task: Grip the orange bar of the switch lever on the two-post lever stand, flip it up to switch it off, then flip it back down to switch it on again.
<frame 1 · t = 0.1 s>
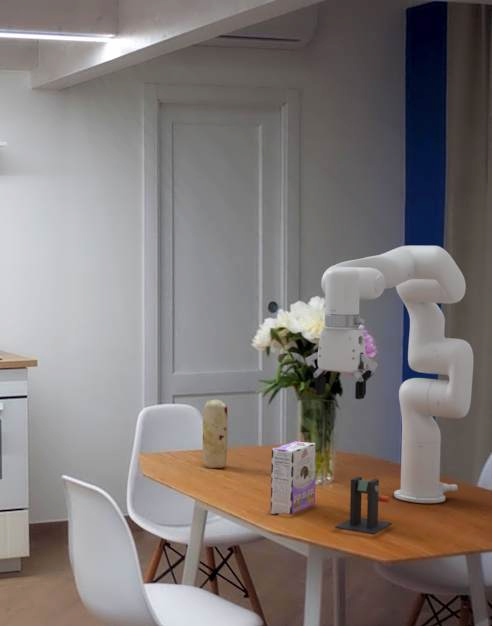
hand: (340, 396, 245), 31 cm above the table, tool pointing down, fingers open, 9 cm apart
candy box: (292, 511, 265), on the table
two-post lever stand: (363, 529, 247), on the table
food model: (214, 467, 319), on the table
switch lever: (371, 492, 250), point 8 cm above the table, hinge at -25.0°
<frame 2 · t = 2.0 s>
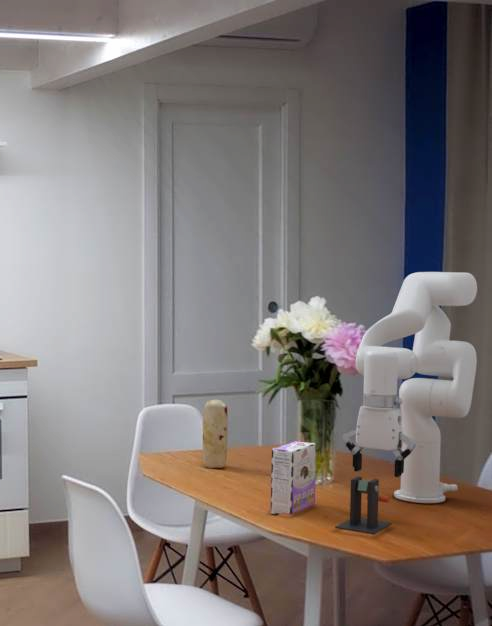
hand: (377, 473, 253), 12 cm above the table, tool pointing down, fingers open, 9 cm apart
nothing on the table moved.
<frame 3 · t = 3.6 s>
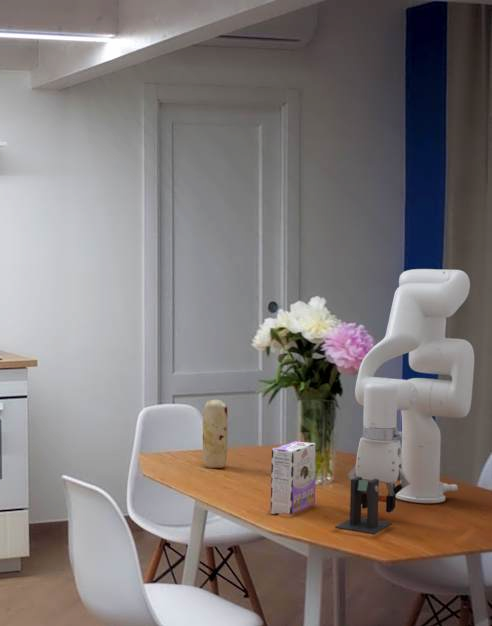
hand: (377, 508, 254), 3 cm above the table, tool pointing down, fingers closed on switch lever, 5 cm apart
switch lever: (371, 492, 250), point 8 cm above the table, hinge at -25.0°, touching gripper
everything else where it was.
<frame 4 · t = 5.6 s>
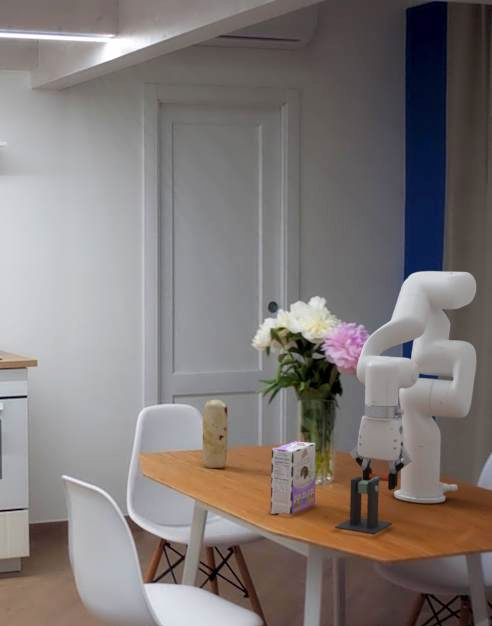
hand: (379, 486, 254), 8 cm above the table, tool pointing down, fingers closed on switch lever, 5 cm apart
switch lever: (371, 482, 250), point 10 cm above the table, hinge at 3.7°, touching gripper
everything else where it was.
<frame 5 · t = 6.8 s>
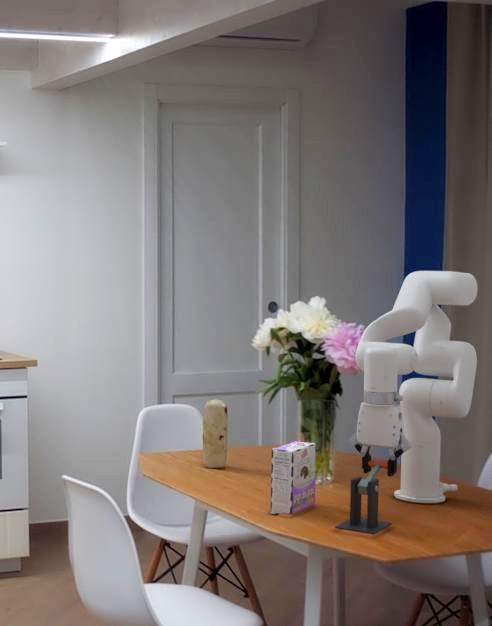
hand: (379, 473, 254), 12 cm above the table, tool pointing down, fingers closed on switch lever, 5 cm apart
switch lever: (371, 476, 250), point 12 cm above the table, hinge at 22.3°, touching gripper
everything else where it was.
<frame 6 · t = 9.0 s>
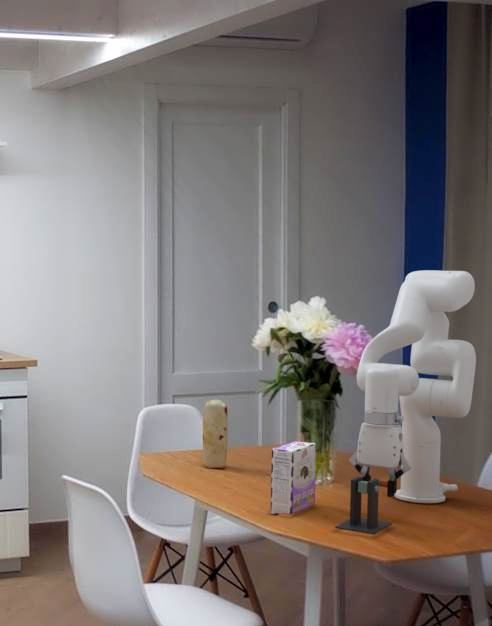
hand: (378, 493, 254), 7 cm above the table, tool pointing down, fingers closed on switch lever, 5 cm apart
switch lever: (371, 485, 250), point 10 cm above the table, hinge at -4.9°, touching gripper
everything else where it was.
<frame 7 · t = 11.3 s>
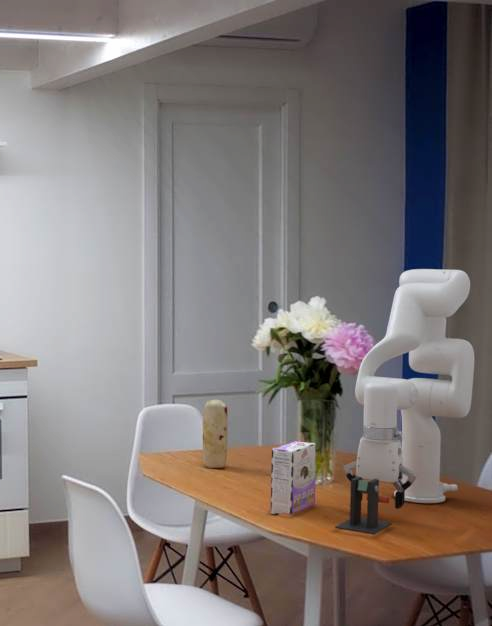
hand: (378, 504, 254), 4 cm above the table, tool pointing down, fingers open, 9 cm apart
switch lever: (370, 492, 250), point 8 cm above the table, hinge at -26.2°
everything else where it was.
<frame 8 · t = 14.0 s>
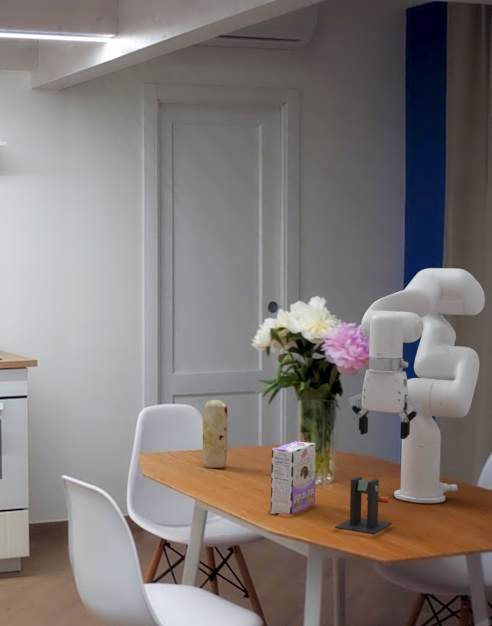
hand: (383, 435, 256), 20 cm above the table, tool pointing down, fingers open, 9 cm apart
nothing on the table moved.
at the end: switch lever reached +22° during the clip, -26° at the end; switch lever at -26° (first picture: -25°) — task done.
